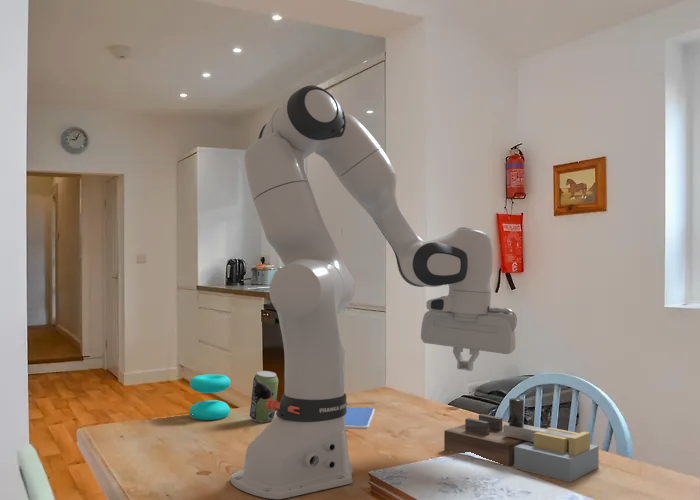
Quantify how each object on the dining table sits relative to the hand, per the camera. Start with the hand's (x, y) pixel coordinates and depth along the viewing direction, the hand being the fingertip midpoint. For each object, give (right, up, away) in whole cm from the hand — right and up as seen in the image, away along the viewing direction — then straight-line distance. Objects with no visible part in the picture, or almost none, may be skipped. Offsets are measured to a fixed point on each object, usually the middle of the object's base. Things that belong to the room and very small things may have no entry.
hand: (464, 369), depth 132 cm
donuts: (-60, -17, +24) cm, 67 cm away
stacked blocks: (+15, -16, -14) cm, 26 cm away
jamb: (+5, -16, -4) cm, 17 cm away
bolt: (+12, -12, -12) cm, 20 cm away
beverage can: (-46, -17, +20) cm, 52 cm away
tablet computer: (-25, -18, +24) cm, 39 cm away
